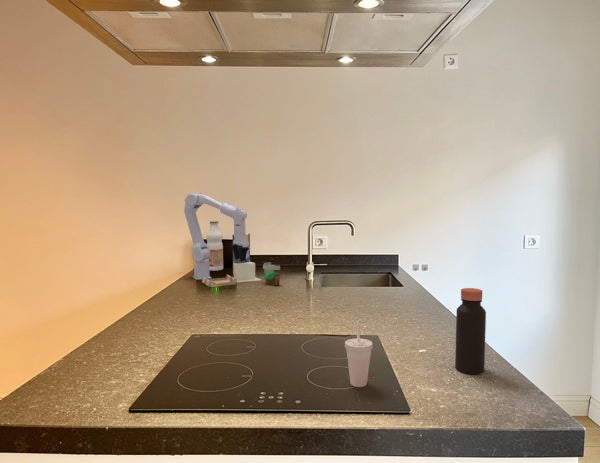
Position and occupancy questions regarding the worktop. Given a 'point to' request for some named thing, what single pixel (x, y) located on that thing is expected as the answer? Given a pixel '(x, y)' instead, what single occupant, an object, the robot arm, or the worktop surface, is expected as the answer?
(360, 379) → the smoothie
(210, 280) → the rack
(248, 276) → the beige rectangular block
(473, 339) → the bottle
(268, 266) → the food container
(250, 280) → the board
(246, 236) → the beverage box
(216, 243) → the fruit juice
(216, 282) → the offcut upper
